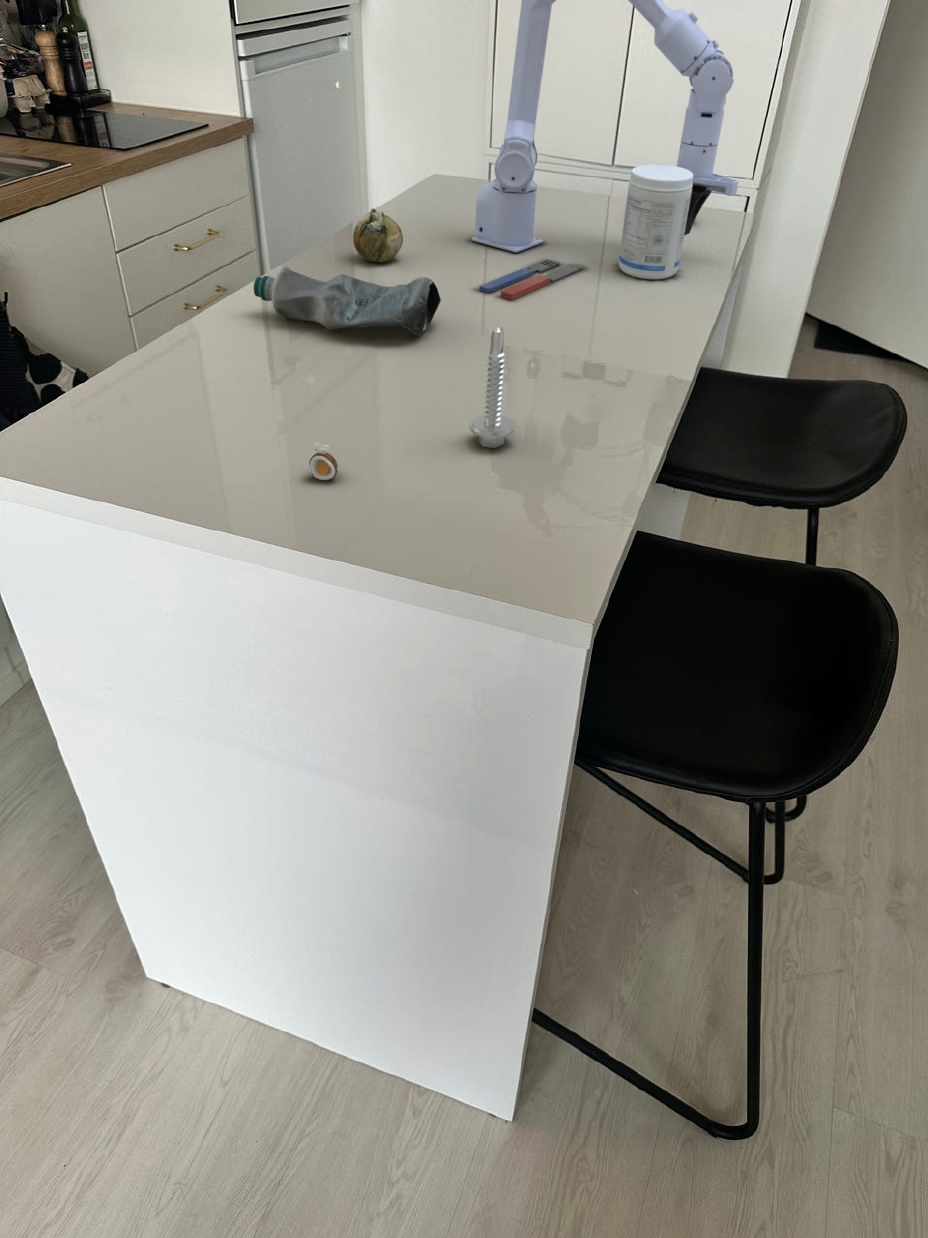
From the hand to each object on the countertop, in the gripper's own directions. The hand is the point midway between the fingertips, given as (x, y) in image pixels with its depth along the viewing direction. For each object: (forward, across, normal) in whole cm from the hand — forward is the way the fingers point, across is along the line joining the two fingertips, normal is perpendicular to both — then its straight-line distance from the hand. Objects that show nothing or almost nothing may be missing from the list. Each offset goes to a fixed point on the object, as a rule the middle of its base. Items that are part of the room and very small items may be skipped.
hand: (683, 233), depth 152 cm
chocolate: (+4, -8, +91) cm, 91 cm away
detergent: (+4, +19, +60) cm, 63 cm away
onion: (+4, +34, +37) cm, 50 cm away
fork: (+3, +13, +28) cm, 31 cm away
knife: (+4, +9, +27) cm, 28 cm away
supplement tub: (+4, 0, +11) cm, 11 cm away
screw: (+4, -16, +74) cm, 76 cm away
